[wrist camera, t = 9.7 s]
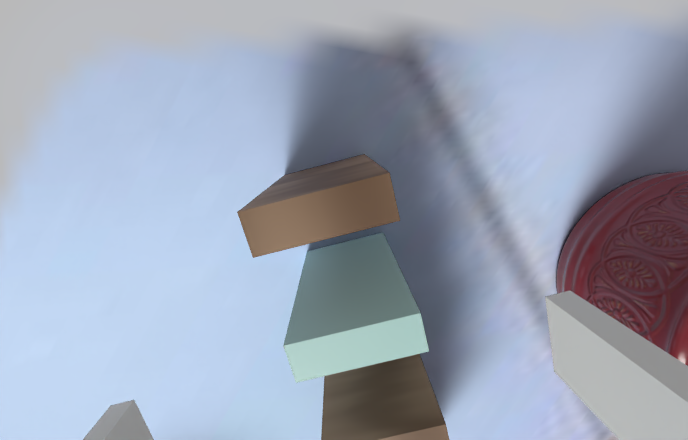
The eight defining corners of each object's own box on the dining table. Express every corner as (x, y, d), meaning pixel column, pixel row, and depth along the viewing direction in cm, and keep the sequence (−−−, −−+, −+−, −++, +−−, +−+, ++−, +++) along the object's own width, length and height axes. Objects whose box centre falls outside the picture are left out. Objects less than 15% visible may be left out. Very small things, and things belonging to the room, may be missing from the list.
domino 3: (333, 338, 23) (331, 483, 14) (327, 318, 23) (320, 452, 13) (404, 321, 23) (452, 456, 13) (399, 300, 23) (445, 424, 13)
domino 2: (313, 273, 22) (295, 382, 12) (307, 251, 22) (283, 345, 12) (388, 255, 22) (429, 351, 12) (382, 232, 22) (420, 312, 12)
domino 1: (292, 200, 21) (253, 257, 11) (284, 175, 21) (237, 212, 11) (370, 179, 21) (400, 220, 11) (364, 154, 20) (389, 172, 11)
